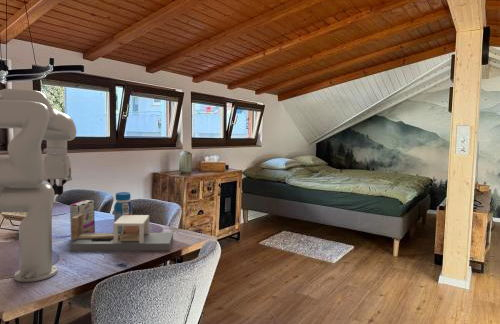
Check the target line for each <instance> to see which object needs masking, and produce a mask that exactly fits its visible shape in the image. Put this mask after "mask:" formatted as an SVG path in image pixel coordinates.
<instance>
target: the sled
mask: <svg viewBox="0 0 500 324" xmlns="http://www.w3.org/2000/svg"><path fill="white" fill-rule="evenodd" d="M71 229H72V239H77V238H114V234H83V214H77V215H76V216H74V217H73V218H71V222H70V230H71ZM118 238H120V241H139V233H138V234H125V229H124V230H123V232H122V233H121V234H118ZM72 239H71V240H72Z"/></svg>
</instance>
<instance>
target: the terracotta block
mask: <svg viewBox="0 0 500 324" xmlns="http://www.w3.org/2000/svg"><path fill="white" fill-rule="evenodd" d="M138 233H139V226H125V234H138Z"/></svg>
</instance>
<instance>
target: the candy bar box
mask: <svg viewBox="0 0 500 324" xmlns="http://www.w3.org/2000/svg"><path fill="white" fill-rule="evenodd" d="M69 214H70V215H69V219H70V223H71V218H73V217H74V216H76V215H77V214H83V233H96V230H95V229H96V228H95V227H96V226H95V225H96V224H95V223H96V221H95V200H91V199H89V200H88V199H84V200H82V201H78V202H75V203H71V204H70V205H69ZM70 240H73V241H75V240H76V239H72V229H71V228H70Z"/></svg>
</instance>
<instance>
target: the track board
mask: <svg viewBox="0 0 500 324" xmlns="http://www.w3.org/2000/svg"><path fill="white" fill-rule="evenodd" d="M118 226H122V232H123V230H124V229H125V226H139V241H120V238H118V234H121V233H118ZM83 234H114V238H77V239H76V240H73V241H72V242H71V243H70V244H69V245H70V249H69V251H70V252H101V251H102V252H103V251H104V252H110V251H111V252H112V251H113V252H117V251H121V252H122V251H123V252H124V251H130V252H131V251H133V252H134V251H142V252H143V251H170V249H171V246H172V243H173V240H174V232H150V215H149V214H132V215H122V216H121V217H120V218H119V219H118V220H117V221H116V222H115V223H114V222H113V232H95V233H83Z"/></svg>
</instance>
